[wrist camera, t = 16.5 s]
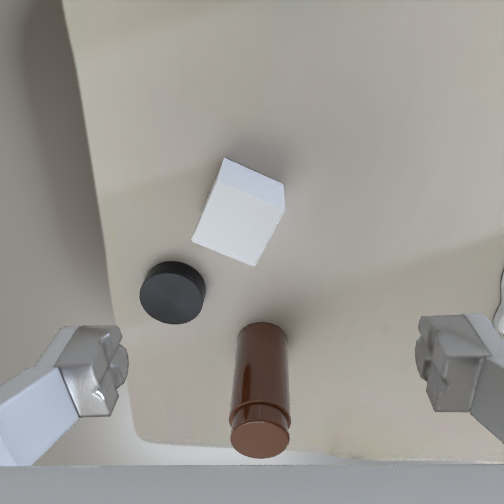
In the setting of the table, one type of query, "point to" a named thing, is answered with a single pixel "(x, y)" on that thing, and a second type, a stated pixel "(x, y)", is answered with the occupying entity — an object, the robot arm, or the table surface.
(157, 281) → the lid
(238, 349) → the coffee jar
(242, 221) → the white cube
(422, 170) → the table surface
